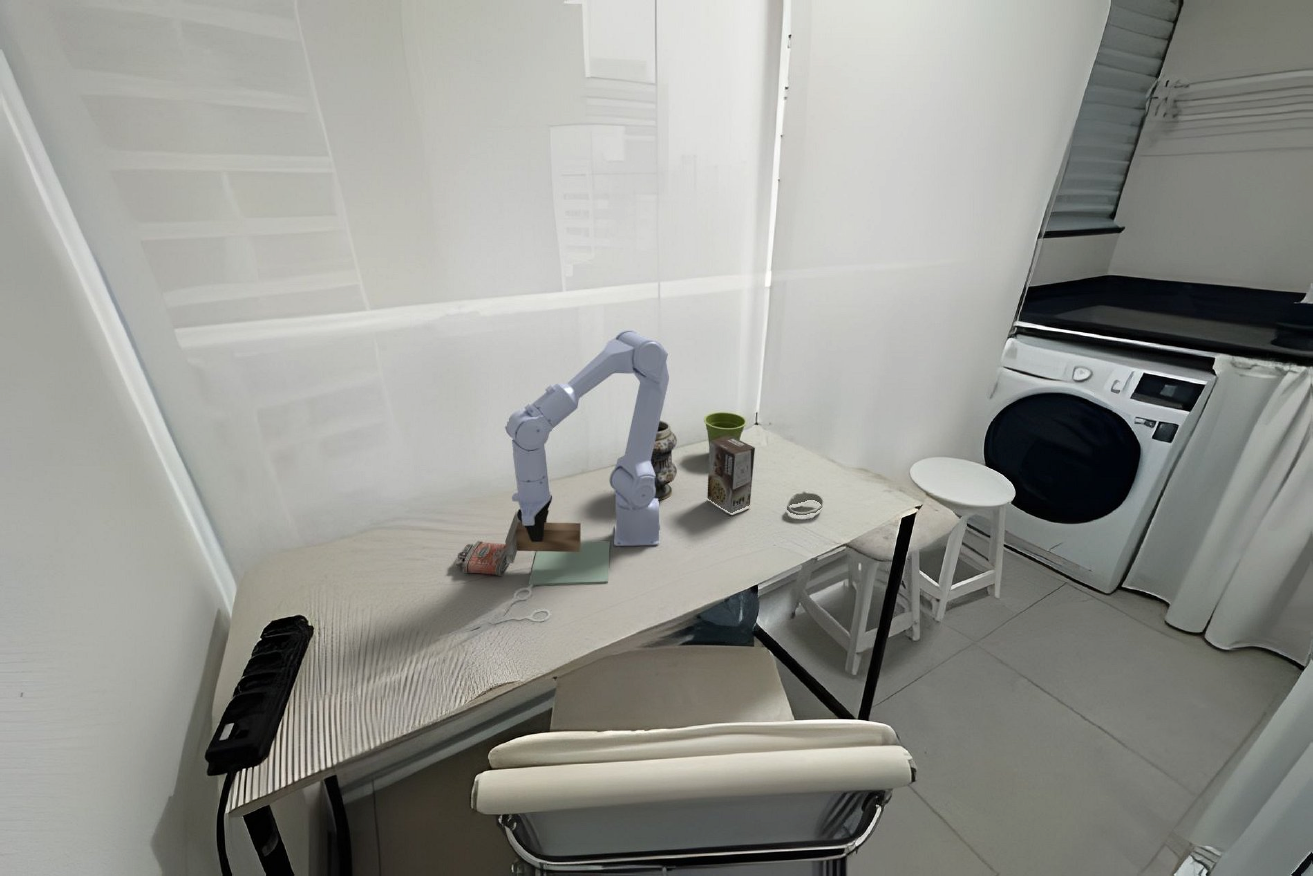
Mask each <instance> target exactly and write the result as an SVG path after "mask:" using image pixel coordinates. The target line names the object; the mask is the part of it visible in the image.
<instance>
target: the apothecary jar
mask: <svg viewBox="0 0 1313 876" xmlns="http://www.w3.org/2000/svg"><path fill="white" fill-rule="evenodd" d="M677 443H678V439H677V436H676V434H675V433H674V432H673V431H672V430H671V426H670V423H668V422H667V421H664V420H661V419H660V421H659V426H658V430H657V435H656V439H655V443H654V448H653V452H652V457H651V464H652V467H653V470H654V472H655V476H656V477H655V482H654V484H655V488H656V493H655V497H654V498H657V499H658V500H659V501H663V500H665V499H667V498H669V497H670V496H671V495H672V493H673V488H672V487H671V485H670V483H672V482H673V481H674V480H675V478H676V477H677V474H678V472H677V471H678V470H677V467H676V465H675V464H674V462H673V457H672V456H673V455H672V453H673V451H672V450H674V449H675V448H676V446H677ZM662 499H663V500H662Z"/></svg>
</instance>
